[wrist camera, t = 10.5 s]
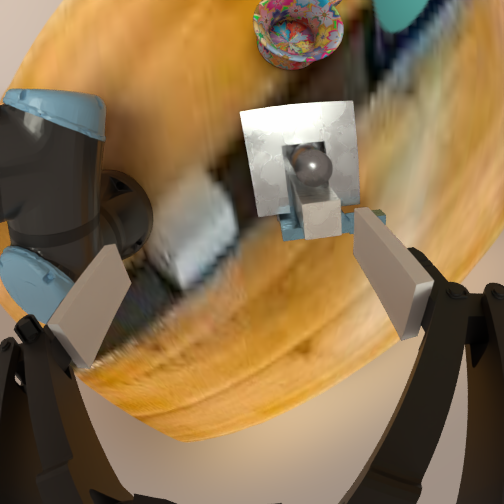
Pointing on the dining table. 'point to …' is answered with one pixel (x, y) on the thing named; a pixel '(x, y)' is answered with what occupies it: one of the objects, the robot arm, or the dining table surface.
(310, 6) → the mug
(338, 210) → the grey rectangular block
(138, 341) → the dining table surface
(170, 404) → the dining table surface
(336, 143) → the notched panel with ball
